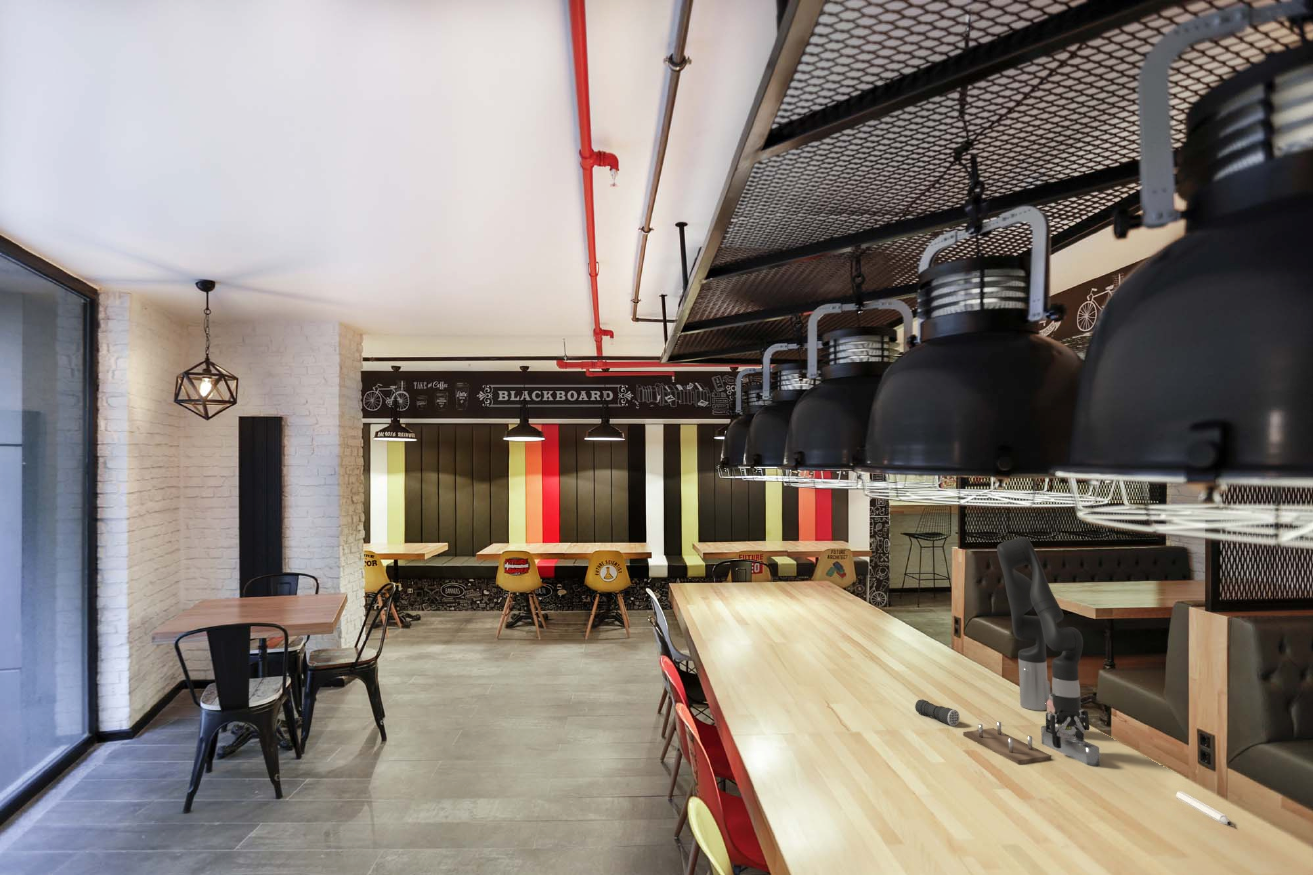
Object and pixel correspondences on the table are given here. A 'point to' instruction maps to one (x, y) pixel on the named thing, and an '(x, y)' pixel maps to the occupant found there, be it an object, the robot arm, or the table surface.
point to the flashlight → (937, 712)
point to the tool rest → (1007, 745)
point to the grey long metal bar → (1073, 747)
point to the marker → (1203, 808)
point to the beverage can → (1051, 710)
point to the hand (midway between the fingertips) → (1068, 745)
